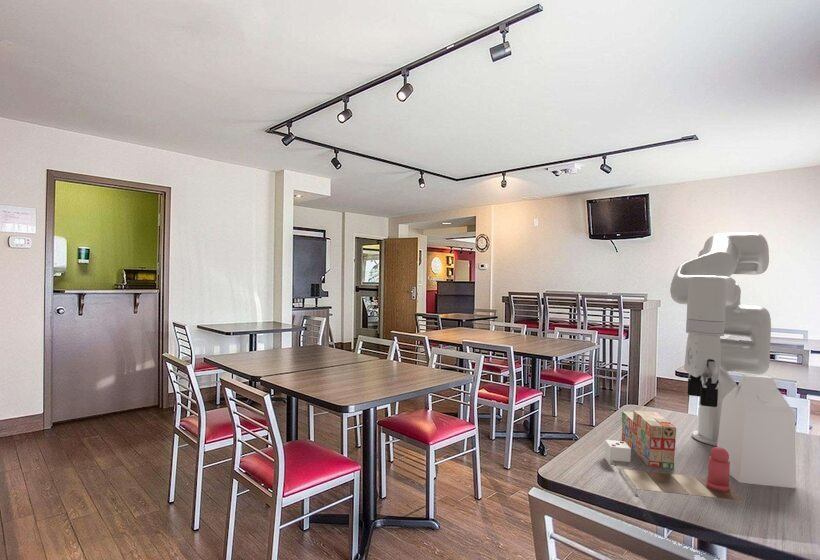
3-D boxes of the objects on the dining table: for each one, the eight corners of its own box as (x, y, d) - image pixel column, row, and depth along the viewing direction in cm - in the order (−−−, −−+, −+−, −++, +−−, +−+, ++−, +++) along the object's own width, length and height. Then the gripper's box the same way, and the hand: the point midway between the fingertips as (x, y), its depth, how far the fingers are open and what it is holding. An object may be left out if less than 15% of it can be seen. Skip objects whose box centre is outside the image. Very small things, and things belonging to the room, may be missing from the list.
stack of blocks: (620, 441, 134) (622, 400, 134) (642, 443, 133) (644, 402, 133) (648, 472, 113) (650, 424, 112) (674, 475, 112) (676, 426, 112)
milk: (765, 472, 115) (770, 373, 114) (796, 494, 103) (801, 383, 103) (714, 467, 117) (718, 369, 116) (739, 488, 105) (744, 379, 105)
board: (719, 483, 108) (719, 477, 108) (748, 508, 96) (749, 502, 96) (619, 473, 111) (619, 467, 111) (635, 496, 99) (635, 490, 99)
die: (624, 459, 120) (624, 441, 120) (630, 467, 115) (630, 448, 115) (604, 457, 121) (605, 439, 121) (609, 465, 116) (610, 446, 116)
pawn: (723, 484, 104) (725, 444, 104) (733, 493, 100) (735, 451, 99) (702, 482, 105) (704, 442, 105) (712, 491, 100) (714, 450, 100)
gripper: (676, 323, 113) (673, 390, 113) (698, 330, 97) (694, 408, 97) (710, 326, 111) (707, 394, 111) (738, 333, 94) (734, 413, 94)
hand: (701, 400), depth 104 cm, fingers open, 9 cm apart
